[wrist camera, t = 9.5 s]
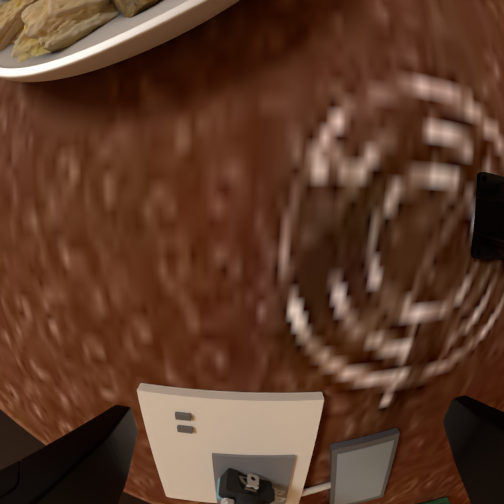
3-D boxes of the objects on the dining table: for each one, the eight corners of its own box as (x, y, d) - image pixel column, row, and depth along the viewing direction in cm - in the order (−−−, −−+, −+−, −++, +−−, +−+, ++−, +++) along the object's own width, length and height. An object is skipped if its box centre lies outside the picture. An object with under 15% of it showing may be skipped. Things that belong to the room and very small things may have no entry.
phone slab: (396, 427, 22) (400, 433, 22) (381, 491, 25) (383, 497, 24) (330, 444, 23) (332, 450, 22) (328, 504, 25) (329, 510, 24)
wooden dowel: (350, 472, 24) (351, 478, 23) (352, 476, 24) (353, 482, 23) (230, 502, 25) (229, 507, 24) (234, 506, 25) (233, 511, 24)
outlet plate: (321, 391, 21) (325, 402, 20) (297, 497, 25) (298, 506, 23) (140, 383, 21) (135, 392, 20) (168, 490, 25) (166, 498, 24)
